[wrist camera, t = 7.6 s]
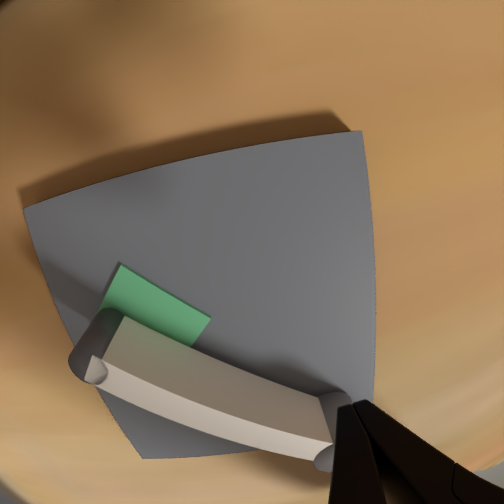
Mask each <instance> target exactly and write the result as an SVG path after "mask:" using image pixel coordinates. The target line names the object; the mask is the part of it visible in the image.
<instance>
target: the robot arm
mask: <svg viewBox="0 0 504 504" xmlns="http://www.w3.org/2000/svg"><path fill="white" fill-rule="evenodd" d="M328 504H504V489H503V488H501V487H499V486H496V485H494V484H492V483H490V482H488V481H486V480H484V479H482V478H480V477H479V476H477V475H475V474H474V473H472V472H470V471H469V470H467V469H465V468H464V467H462V466H461V465H460V464H458V463H455V462H454V461H453V460H452V459H450V458H449V457H447V456H446V455H445V454H443V453H442V452H440V451H439V450H437V449H436V448H434V447H433V446H431V445H430V444H429V443H427V442H426V441H424V440H423V439H421V438H420V437H419V436H417V435H416V434H414V433H413V432H411V431H410V430H409V429H407V428H406V427H404V426H403V425H402V424H400V423H399V422H397V421H396V420H395V419H393V418H392V417H391V416H389V415H388V414H386V413H385V412H384V411H382V410H381V409H380V408H378V407H377V406H376V405H374V404H373V403H371V402H370V401H369V400H367V399H363V400H360V401H356V402H354V403H352V404H346V405H342V406H339V407H338V408H337V417H336V431H335V444H334V456H333V466H332V476H331V485H330V493H329V501H328Z"/></svg>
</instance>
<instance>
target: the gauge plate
mask: <svg viewBox="0 0 504 504" xmlns="http://www.w3.org/2000/svg"><path fill="white" fill-rule="evenodd" d="M23 211H24V215H25V218H26V222H27V225H28V229H29V232H30V236H31V239H32V242H33V245H34V248H35V251H36V254H37V257H38V260H39V263H40V266H41V269H42V271H43V274H44V277H45V279H46V282H47V285H48V287H49V290H50V292H51V295H52V297H53V300H54V302H55V305H56V307H57V309H58V312H59V314H60V316H61V319H62V321H63V323H64V325H65V327H66V330H67V332H68V334H69V336H70V338H71V340H72V342H73V344H74V346H76V344H77V343H78V341H79V340H80V338H81V337H82V335H83V334H84V332H85V331H86V329H87V328H88V326H89V325H90V323H91V322H92V320H93V319H94V317H95V316H96V315H97V313H98V312H99V311H100V310H101V309H103V308H114V309H117V310H119V311H120V312H122V313H123V314H124V315H125V316H126V317H128V318H130V319H132V320H134V321H136V322H138V323H140V324H142V325H144V326H146V327H148V328H150V329H152V330H154V331H156V332H158V333H160V334H162V335H164V336H166V337H168V338H171V339H173V340H175V341H177V342H179V343H181V344H183V345H186V346H188V347H190V348H192V349H194V350H197V351H199V352H201V353H203V354H206V355H208V356H210V357H213V358H215V359H217V360H220V361H222V362H224V363H227V364H229V365H231V366H234V367H236V368H239V369H241V370H244V371H246V372H249V373H251V374H254V375H256V376H259V377H262V378H264V379H267V380H269V381H272V382H275V383H278V384H280V385H283V386H286V387H289V388H291V389H294V390H297V391H300V392H303V393H306V394H309V395H312V396H315V397H318V396H320V395H323V394H326V393H331V392H341V393H345V394H347V395H349V396H350V397H351V398H352V400H353V402H356V401H360V400H363V399H367V400H369V401H370V402H371V403H373V389H374V372H375V347H376V281H375V255H374V238H373V223H372V211H371V200H370V190H369V181H368V172H367V164H366V156H365V149H364V142H363V135H362V131H349V132H340V133H332V134H323V135H316V136H308V137H301V138H295V139H288V140H282V141H275V142H269V143H264V144H258V145H252V146H247V147H241V148H236V149H231V150H226V151H221V152H216V153H212V154H207V155H202V156H198V157H193V158H189V159H185V160H180V161H176V162H172V163H168V164H164V165H160V166H156V167H152V168H148V169H144V170H141V171H137V172H133V173H130V174H126V175H123V176H119V177H116V178H112V179H109V180H105V181H102V182H99V183H95V184H92V185H89V186H86V187H83V188H80V189H76V190H73V191H70V192H67V193H64V194H61V195H58V196H56V197H53V198H50V199H47V200H44V201H41V202H39V203H36V204H33V205H31V206H28V207H26V208H23ZM96 388H97V390H98V391H99V393H100V395H101V397H102V398H103V400H104V402H105V403H106V405H107V407H108V408H109V410H110V412H111V413H112V415H113V416H114V418H115V419H116V421H117V423H118V424H119V426H120V427H121V429H122V430H123V432H124V433H125V435H126V436H127V438H128V439H129V441H130V442H131V444H132V445H133V446H134V448H135V449H136V451H137V452H138V453H139V455H140V456H141V458H142V459H163V458H186V457H201V456H212V455H222V454H231V453H239V452H247V451H254V450H260V449H259V448H255V447H251V446H248V445H244V444H241V443H237V442H234V441H231V440H227V439H224V438H221V437H218V436H215V435H212V434H209V433H206V432H203V431H200V430H197V429H194V428H191V427H189V426H186V425H183V424H180V423H178V422H175V421H173V420H170V419H167V418H165V417H162V416H160V415H158V414H155V413H153V412H150V411H148V410H146V409H143V408H141V407H139V406H136V405H134V404H132V403H130V402H128V401H125V400H123V399H121V398H119V397H117V396H115V395H113V394H111V393H109V392H107V391H105V390H103V389H101V388H99V387H97V386H96Z"/></svg>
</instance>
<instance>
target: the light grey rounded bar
mask: <svg viewBox="0 0 504 504" xmlns="http://www.w3.org/2000/svg"><path fill="white" fill-rule="evenodd" d="M68 363H69V366H70V369H71V370H72V372H73V373H74V374H75V375H76V376H77V377H78V378H79V379H81V380H82V381H84V382H86V383H89V384H93V385H95V386H97V387H99V388H101V389H103V390H105V391H107V392H109V393H111V394H113V395H115V396H117V397H119V398H121V399H123V400H125V401H128V402H130V403H132V404H134V405H136V406H139V407H141V408H143V409H146V410H148V411H150V412H153V413H155V414H158V415H160V416H162V417H165V418H167V419H170V420H173V421H175V422H178V423H180V424H183V425H186V426H189V427H191V428H194V429H197V430H200V431H203V432H206V433H209V434H212V435H215V436H218V437H221V438H224V439H227V440H231V441H234V442H237V443H241V444H244V445H248V446H251V447H255V448H259V449H263V450H266V451H270V452H274V453H279V454H283V455H287V456H292V457H296V458H301V459H306V460H311V461H313V465H314V467H315V468H316V469H317V470H319V471H322V472H332V466H333V456H334V444H335V431H336V417H337V408H338V407H339V406H342V405H346V404H352V403H354V402H353V400H352V398H351V397H350V396H349V395H347V394H345V393H341V392H331V393H326V394H323V395H320V396H318V397H315V396H312V395H309V394H306V393H303V392H300V391H297V390H294V389H291V388H289V387H286V386H283V385H280V384H278V383H275V382H272V381H269V380H267V379H264V378H262V377H259V376H256V375H254V374H251V373H249V372H246V371H244V370H241V369H239V368H236V367H234V366H231V365H229V364H227V363H224V362H222V361H220V360H217V359H215V358H213V357H210V356H208V355H206V354H203V353H201V352H199V351H197V350H194V349H192V348H190V347H188V346H186V345H183V344H181V343H179V342H177V341H175V340H173V339H171V338H168V337H166V336H164V335H162V334H160V333H158V332H156V331H154V330H152V329H150V328H148V327H146V326H144V325H142V324H140V323H138V322H136V321H134V320H132V319H130V318H128V317H126V316H125V315H124V314H123V313H122V312H120V311H119V310H117V309H114V308H103V309H101V310H100V311H99V312H98V313H97V315H96V316H95V317H94V319H93V320H92V322H91V323H90V325H89V326H88V328H87V329H86V331H85V332H84V334H83V335H82V337H81V338H80V340H79V341H78V343H77V344H76V346H75V347H74V349H73V350H72V352H71V354H70V355H69V358H68Z"/></svg>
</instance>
